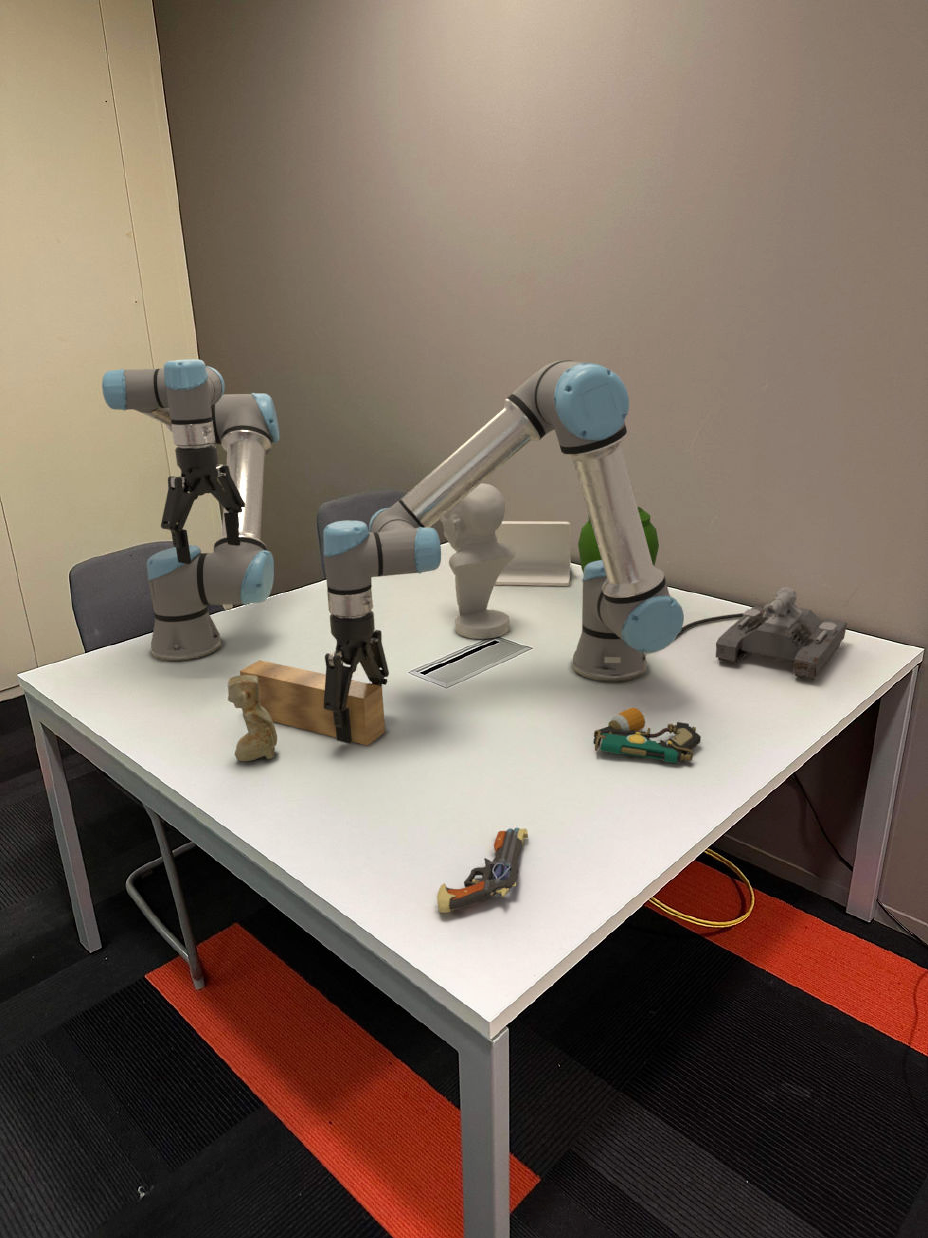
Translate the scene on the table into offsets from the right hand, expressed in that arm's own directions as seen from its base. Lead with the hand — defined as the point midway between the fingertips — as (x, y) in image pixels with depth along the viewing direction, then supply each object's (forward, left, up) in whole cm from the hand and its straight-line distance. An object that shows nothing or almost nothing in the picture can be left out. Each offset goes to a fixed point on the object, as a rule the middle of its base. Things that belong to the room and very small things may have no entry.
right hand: (360, 728), depth 154 cm
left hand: (+15, -37, +26) cm, 48 cm away
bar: (+6, -9, -1) cm, 11 cm away
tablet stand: (-75, -63, -1) cm, 98 cm away
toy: (-91, +14, -1) cm, 92 cm away
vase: (-81, -30, -1) cm, 86 cm away
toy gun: (+1, +46, -1) cm, 46 cm away
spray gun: (-40, +31, -1) cm, 51 cm away
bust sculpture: (-43, -36, -1) cm, 56 cm away
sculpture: (+18, -2, -1) cm, 19 cm away
